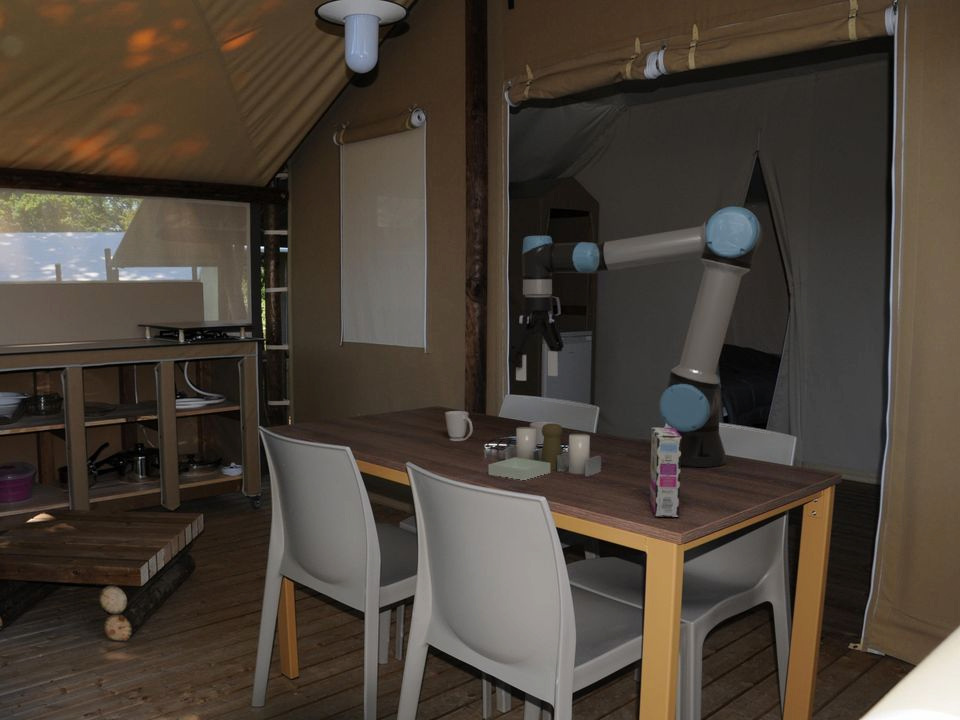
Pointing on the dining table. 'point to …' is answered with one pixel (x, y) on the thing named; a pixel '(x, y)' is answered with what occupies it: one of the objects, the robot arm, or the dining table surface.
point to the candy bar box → (665, 472)
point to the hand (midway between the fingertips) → (537, 378)
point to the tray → (519, 468)
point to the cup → (458, 425)
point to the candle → (540, 430)
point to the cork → (551, 444)
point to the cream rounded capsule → (525, 442)
